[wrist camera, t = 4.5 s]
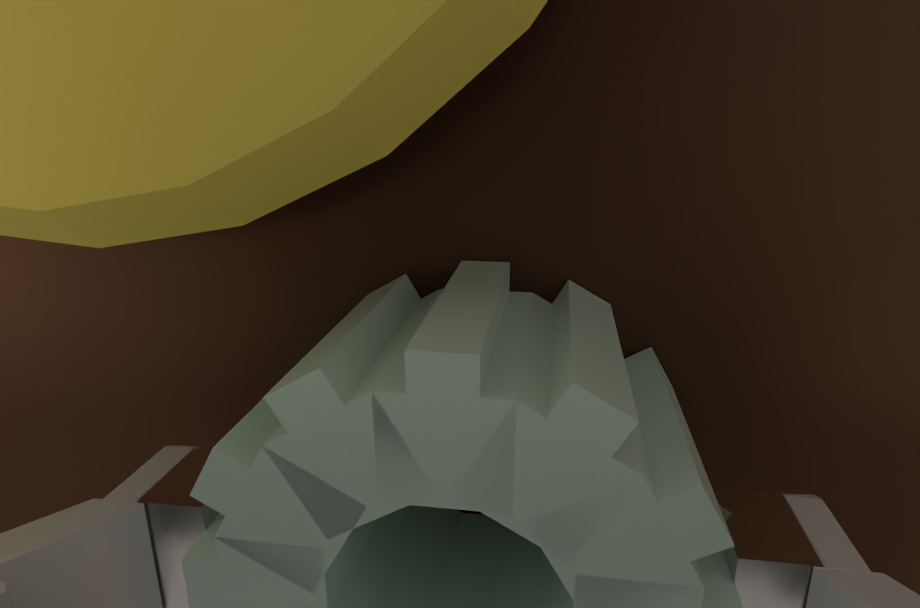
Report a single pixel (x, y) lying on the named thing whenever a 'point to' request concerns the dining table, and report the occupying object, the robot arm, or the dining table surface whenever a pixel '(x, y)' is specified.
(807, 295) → the dining table surface
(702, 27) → the dining table surface
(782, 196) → the dining table surface
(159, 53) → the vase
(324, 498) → the loose gear
